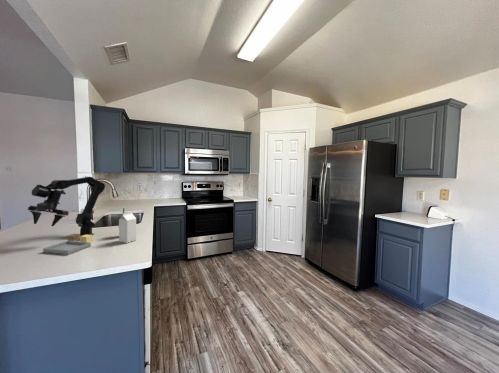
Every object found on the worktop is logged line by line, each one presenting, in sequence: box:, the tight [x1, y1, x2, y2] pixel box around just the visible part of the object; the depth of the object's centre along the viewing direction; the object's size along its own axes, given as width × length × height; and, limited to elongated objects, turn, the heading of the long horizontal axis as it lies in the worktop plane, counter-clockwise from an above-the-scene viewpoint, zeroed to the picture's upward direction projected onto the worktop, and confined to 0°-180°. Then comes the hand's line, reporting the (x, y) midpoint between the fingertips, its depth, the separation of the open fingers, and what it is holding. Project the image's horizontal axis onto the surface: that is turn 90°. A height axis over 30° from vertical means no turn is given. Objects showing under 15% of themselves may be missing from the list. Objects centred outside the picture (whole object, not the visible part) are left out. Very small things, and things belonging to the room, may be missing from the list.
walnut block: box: [67, 233, 80, 242], centre depth 140 cm, size 4×4×4 cm
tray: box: [42, 240, 92, 256], centre depth 125 cm, size 14×16×2 cm
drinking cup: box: [117, 207, 125, 225], centre depth 153 cm, size 8×8×20 cm
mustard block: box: [79, 235, 94, 243], centre depth 138 cm, size 4×4×4 cm
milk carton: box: [118, 211, 137, 244], centre depth 142 cm, size 7×7×19 cm
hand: (43, 225), depth 129 cm, fingers open, 9 cm apart
